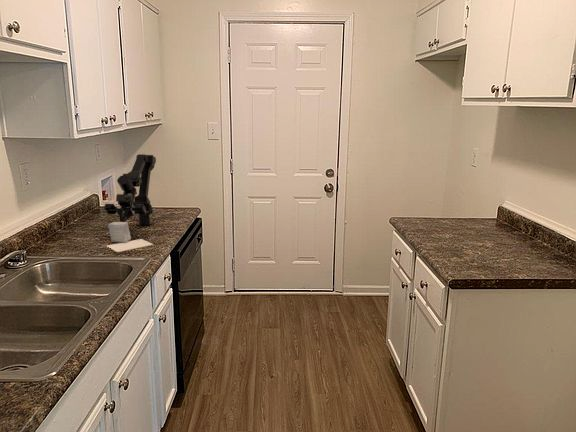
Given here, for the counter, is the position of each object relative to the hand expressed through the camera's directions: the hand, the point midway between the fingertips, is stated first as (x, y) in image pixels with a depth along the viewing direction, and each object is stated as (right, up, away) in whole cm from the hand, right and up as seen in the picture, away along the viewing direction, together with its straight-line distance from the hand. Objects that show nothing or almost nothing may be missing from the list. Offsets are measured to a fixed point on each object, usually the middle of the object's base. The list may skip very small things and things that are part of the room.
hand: (121, 224), depth 219 cm
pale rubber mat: (+6, -10, -6) cm, 13 cm away
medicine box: (0, -8, 0) cm, 8 cm away
